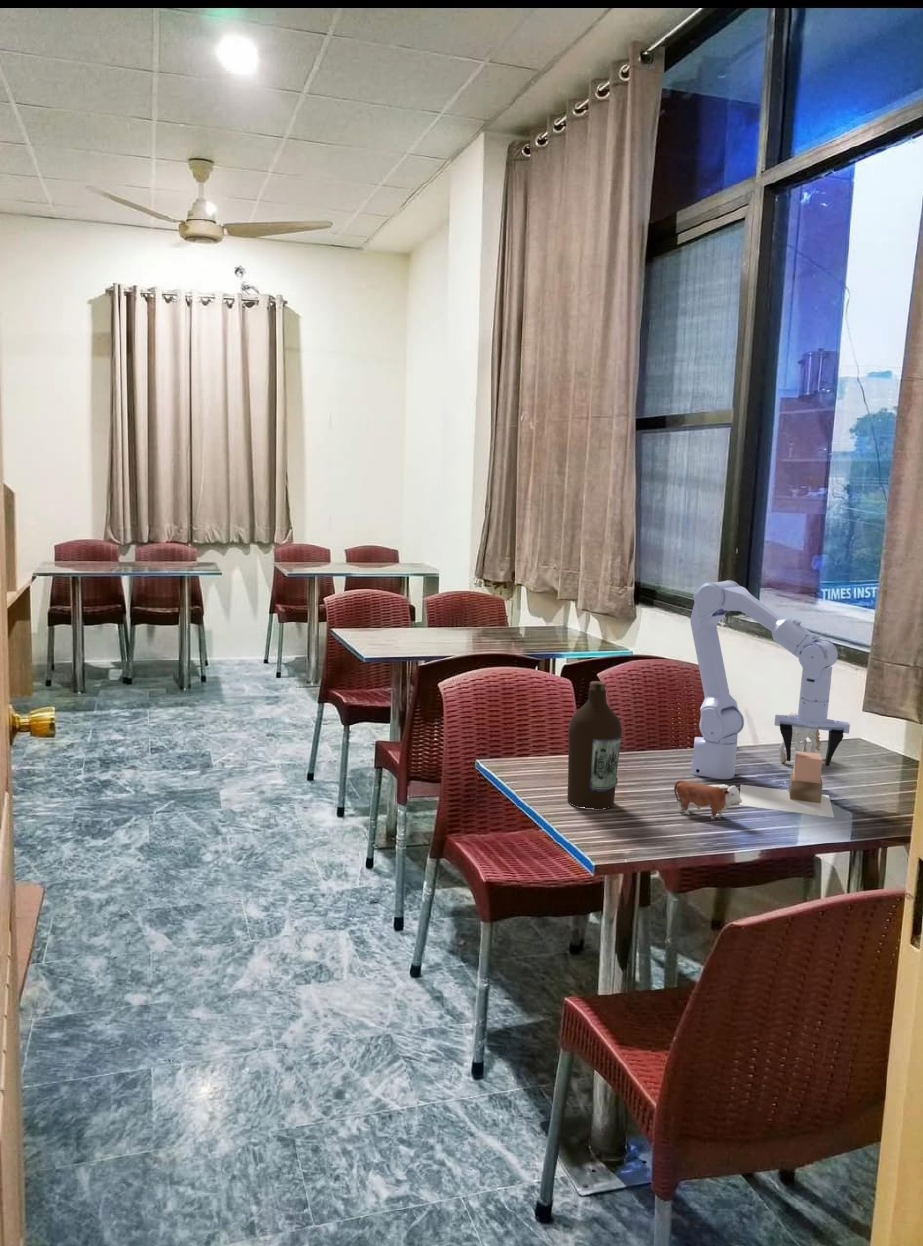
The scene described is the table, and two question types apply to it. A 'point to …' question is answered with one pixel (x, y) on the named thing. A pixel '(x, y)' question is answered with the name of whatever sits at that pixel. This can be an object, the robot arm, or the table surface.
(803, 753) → the terracotta block
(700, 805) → the bull figurine
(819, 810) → the base plate
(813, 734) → the unicorn figurine
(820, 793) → the walnut block
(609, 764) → the brown bottle
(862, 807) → the table surface
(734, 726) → the robot arm
